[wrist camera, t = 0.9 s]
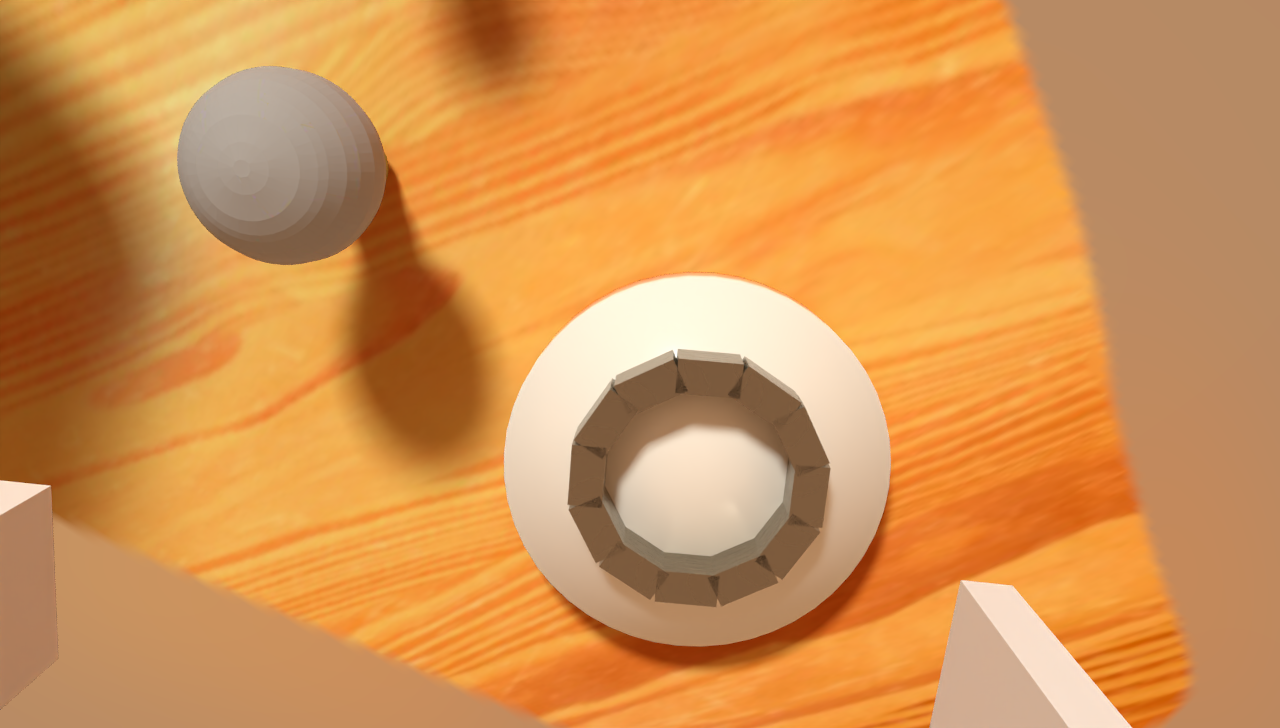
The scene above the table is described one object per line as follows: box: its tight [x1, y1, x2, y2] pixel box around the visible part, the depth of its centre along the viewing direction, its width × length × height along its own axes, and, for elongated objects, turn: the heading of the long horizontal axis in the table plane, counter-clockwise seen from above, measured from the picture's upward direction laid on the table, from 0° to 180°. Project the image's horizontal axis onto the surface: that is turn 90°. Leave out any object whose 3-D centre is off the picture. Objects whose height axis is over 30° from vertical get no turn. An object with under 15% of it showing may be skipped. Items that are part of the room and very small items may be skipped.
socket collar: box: [567, 349, 831, 607], centre depth 32 cm, size 9×9×2 cm
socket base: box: [504, 272, 891, 646], centre depth 34 cm, size 14×14×2 cm
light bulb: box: [177, 66, 389, 265], centre depth 28 cm, size 6×6×10 cm
